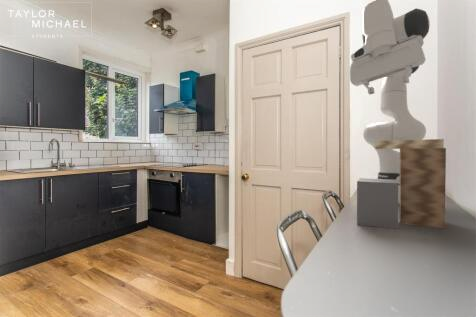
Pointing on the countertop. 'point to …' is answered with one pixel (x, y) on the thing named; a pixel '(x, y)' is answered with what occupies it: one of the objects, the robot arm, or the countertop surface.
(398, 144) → the bar
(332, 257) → the countertop surface
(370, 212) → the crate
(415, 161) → the pedestal
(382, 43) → the robot arm
